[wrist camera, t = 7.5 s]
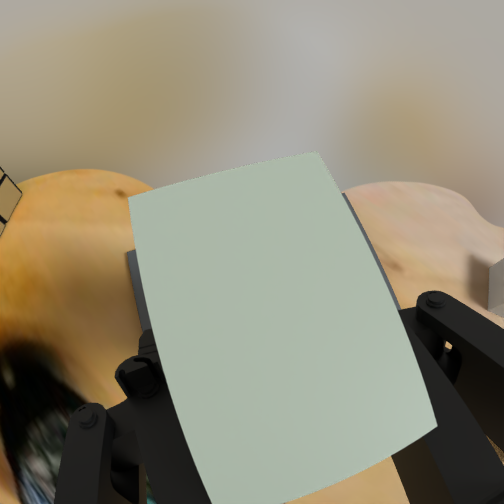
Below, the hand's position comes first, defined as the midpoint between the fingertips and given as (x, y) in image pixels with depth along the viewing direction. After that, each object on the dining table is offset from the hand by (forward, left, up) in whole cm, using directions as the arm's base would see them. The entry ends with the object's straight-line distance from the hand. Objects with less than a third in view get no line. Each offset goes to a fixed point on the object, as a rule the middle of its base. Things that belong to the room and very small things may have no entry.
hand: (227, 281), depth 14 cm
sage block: (0, -4, -3) cm, 5 cm away
